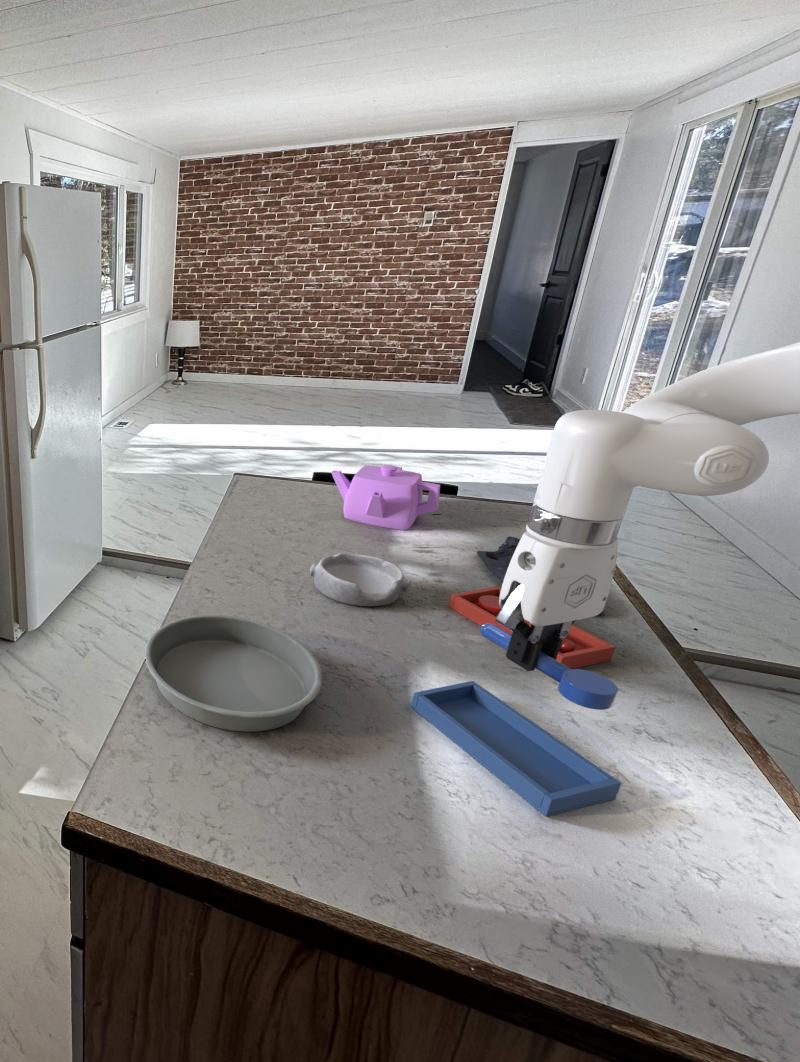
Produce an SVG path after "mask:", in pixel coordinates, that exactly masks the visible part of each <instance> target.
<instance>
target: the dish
mask: <svg viewBox="0 0 800 1062" xmlns="http://www.w3.org/2000/svg"><path fill="white" fill-rule="evenodd" d="M309 575H310V576H311V577H313V582H314V586H315V588H316V589H317V590H318V591H319V592H320V593H322V594H323V595H325V596H326V597H328V598H330V599H332V600H334V601H337V602H339V603H343V604H347V605H350V606H357V607H359V606H360V607H379V606H386V605H389V604H392V603H395V602H396V601H397V599H398V598H399V596H400V595H401V593H402V592H405V593H406V592H408V591H409V590H410V589H411V585H412V579H410V578H406V577H405V576H404V573H403V571H402V570H401V568H400V567H398V566H397V564H395V563H392V562H391V561H386V560H385V559H383V558H380V557H376V556H371V555H365V554H358V553H351V552H350V553H349V552H340V553H339V552H338V553H337V554H334V555H326V556H324V557H323V558H322V559H320V561H319V562H318V563H317V564H316V563H313V564H311V567H310V569H309Z"/></svg>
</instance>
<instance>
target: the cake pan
mask: <svg viewBox="0 0 800 1062" xmlns="http://www.w3.org/2000/svg"><path fill="white" fill-rule="evenodd" d="M148 654H149V655H148ZM145 659H146V661H145V664H146V666H147V669H148V671H149V673H150V674H151V676H152V677H153V678H154V680H155V682H156V685H157V687H158V689H159V692H160V694H161V695H162V696H163V697H164V698H165V700H166V701H167V702H168V703H169V704H170V705H171V706H172V707H173V708H175V709H176V710H178V711H179V712H180V713H182V714H184V715H185V716H187V717H188V718H190V719H192V720H194V721H197V722H198V723H201V724H204V725H207V726H209V727H213V728H217V729H221V730H226V731H232V732H246V733H253V732H254V733H257V732H264V731H269V730H274V729H278V728H280V727H283V726H285V725H287V724H290V723H291V722H292V721H294V720H295V719H297V717H298V716H299V715H300V714H301V713H302V712H303V710H304V709H305V706H307V705H308V704H310V703H311V702H312V701H313V700H314V699H316V697H317V696H318V695H319V692H320V690H321V688H322V685H323V673H322V668H321V666H320V664H319V662H318V660H317V658H316V657H315V656H314V654H313V652H312V651H310V650H309V648H307V647H306V645H304V644H303V643H302V642H300V641H299V640H298V639H296V638H295V637H293V636H292V635H290V634H288V633H287V632H285V631H283V630H281V629H279V628H276V627H274V626H272V625H271V624H270V625H269V624H266V623H264V622H261V621H258V620H254V619H250V618H246V617H242V616H235V615H226V614H199V615H198V614H197V615H191V616H185V617H181V618H177V619H174V620H173V621H170V622H168V623H165V624H164V625H162V626H160V627H159V628H158V629H156V630H155V631H154V632H153V633H152V635H150V637H149V638H148V639H147V642H146V644H145V647H144V660H145Z"/></svg>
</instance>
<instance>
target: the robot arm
mask: <svg viewBox="0 0 800 1062" xmlns="http://www.w3.org/2000/svg"><path fill="white" fill-rule="evenodd" d="M797 414H800V341H798V342H794V343H791V344H788V345H784V346H780V347H777V348H773V349H769V350H766V351H762V352H759V353H755V354H750V355H747V356H743V357H740V358H739V357H738V358H736V359H733V360H729V361H726V362H723V363H720V364H717V365H714V366H711V367H708V368H706V369H703V370H701V371H698V372H695V373H692V374H691V375H688V376H687V377H684V378H682V379H680V380H678V381H676V382H674V383H671V384H670V385H667V386H664V387H662V388H661V389H659V390H657V391H654V392H653V393H650V394H648V395H647V396H645V397H643V398H641V399H639V400H637V401H635V402H634V403H633V404H631V405H629V406H628V407H627V408H625V409H624V410H623V411H622V412H621V411H615V410H604V409H579V410H573V411H569V412H566V413H564V414H562V415H561V416H560V417H559V418H558V420H557V421H556V423H555V425H554V428H553V431H552V434H551V438H550V441H549V445H548V448H547V452H546V455H545V459H544V462H543V467H542V470H541V474H540V477H539V481H538V483H537V488H536V491H535V494H534V498H533V502H532V505H531V507H530V512H529V515H528V519H527V522H526V526H525V530H526V531H523V534H522V536H521V538H520V541H519V543H518V546H517V548H516V550H515V552H514V554H513V557H512V559H511V561H510V564H509V566H508V569H507V572H506V575H505V578H504V581H503V584H502V583H501V584H502V585H501V587H500V588H501V592H500V597H499V605H500V607H501V608H502V609H501V611H500V612H499V614H498V616H497V617H496V620H495V621H496V622H498V623H499V624H501V625H503V626H505V627H507V628H510V631H512V632H513V633H512V636H511V639H510V643H509V646H508V649H507V651H506V652H505V657H506V658H507V660H509V661H511V662H512V663H514V664H515V665H517V666H518V667H521V668H522V669H524V670H525V671H527V672H532V671H533V672H534V671H535V669H536V668H535V667H536V663H537V661H538V657H539V654H540V651H541V652H543V653H544V654H546V655H548V656H550V657H551V658H553V659H555V660H556V658H557V655H558V652H559V649H560V646H561V643H562V639H560V637H561V638H565V637H566V636H567V635H568V633H569V631H570V628H571V625H574V623H576V622H577V621H580V620H584V619H590V618H593V617H596V616H599V615H601V614H600V613H601V612H602V611H603V612H604V609H605V607H606V604H607V600H608V597H609V594H610V591H611V586H612V583H613V579H614V575H615V571H616V565H617V559H618V552H619V538H618V534H619V531H620V528H621V525H622V522H623V521H624V516H625V514H626V510H627V507H628V505H629V502H630V499H631V497H632V496H631V495H632V493H633V490H634V488H639V487H640V488H644V489H645V488H646V489H652V490H658V491H662V492H663V491H664V492H669V493H674V494H680V495H687V496H696V497H712V496H713V497H714V496H723V495H727V494H731V493H736V492H738V491H742V490H743V489H745V488H747V487H749V486H751V485H752V484H754V483H756V482H757V481H758V480H759V479H760V478H761V477H762V476H763V475H764V473H766V470H767V468H768V466H769V463H770V454H769V451H768V450H769V449H768V447H767V445H766V444H765V442H764V441H763V439H761V437H759V436H758V435H757V434H756V433H755V432H753V431H751V430H750V429H749V428H746V427H744V426H743V425H746V424H749V423H753V422H757V421H761V420H766V419H771V418H777V417H783V416H789V415H797ZM524 620H527V621H529V622H530V623H531V627H530V626H529V625H528V624H527V623H526V622H524Z"/></svg>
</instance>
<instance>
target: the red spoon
mask: <svg viewBox="0 0 800 1062" xmlns="http://www.w3.org/2000/svg"><path fill="white" fill-rule="evenodd" d="M477 606H478V607H480V608H481V609H483V610H485V611H487V612H488V613H490V614H492V615H494V616H496V617H497V616H498V614H499V612H500V611H501V609H502V608H501V607H500V605H499V597H497V596H491V595H485V596H481V597H480V598H479V600H478V604H477ZM524 622H526V623H527V624H528V625H529V626H530V627H531V623H530V622H529V621H527V620H524ZM560 639H562V643H561V646H560V649H559V650H560V651H561V652H563V653H568V652H573V651H574V650H575V645H574V643H572V642H571V641H569V640H567V639H566V638H561V637H560Z"/></svg>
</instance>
